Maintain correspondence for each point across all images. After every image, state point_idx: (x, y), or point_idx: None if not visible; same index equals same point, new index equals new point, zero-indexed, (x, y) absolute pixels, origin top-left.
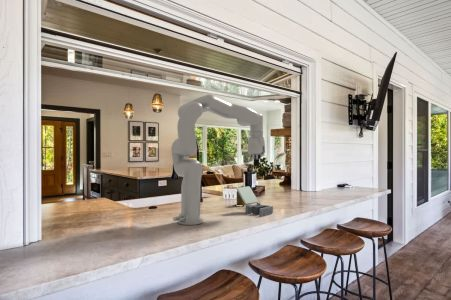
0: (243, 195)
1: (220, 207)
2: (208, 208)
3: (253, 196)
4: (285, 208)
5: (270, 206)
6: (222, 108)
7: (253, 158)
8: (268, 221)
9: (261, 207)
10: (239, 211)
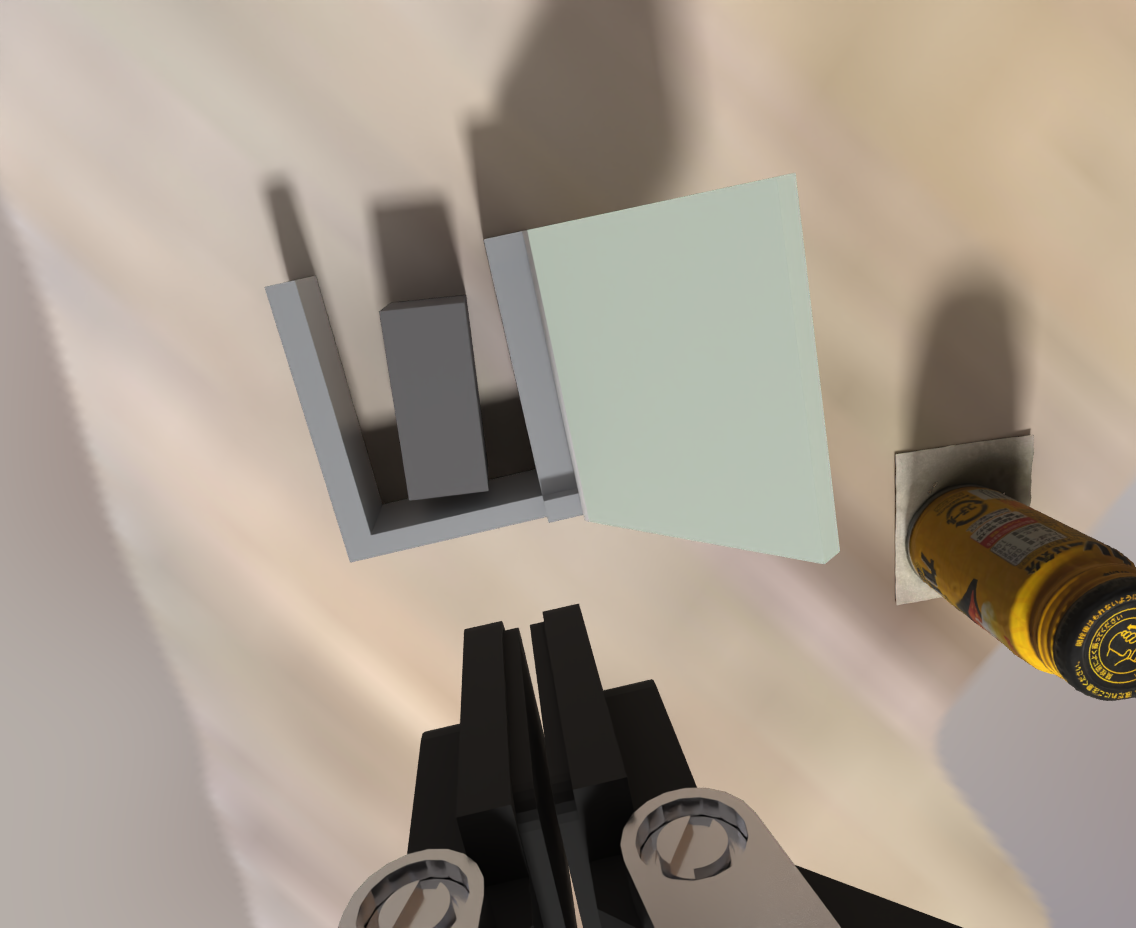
0: (637, 254)
1: (1033, 222)
2: (1091, 30)
3: (645, 488)
4: None
5: (356, 526)
6: None
7: (700, 838)
8: (25, 167)
9: (395, 401)
10: None
